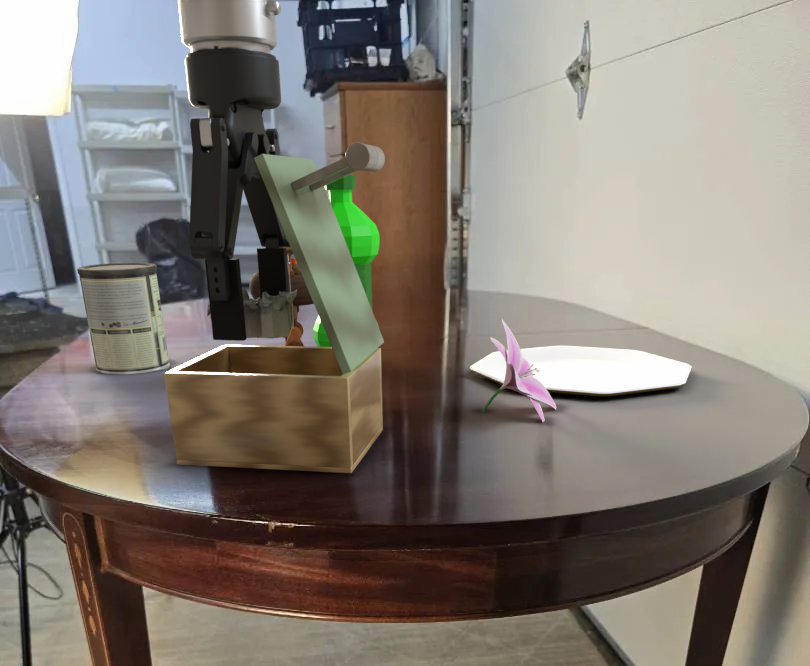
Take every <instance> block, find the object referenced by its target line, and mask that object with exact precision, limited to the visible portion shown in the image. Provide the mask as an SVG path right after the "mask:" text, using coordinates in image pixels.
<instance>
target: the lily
mask: <svg viewBox="0 0 810 666" xmlns="http://www.w3.org/2000/svg"><path fill="white" fill-rule="evenodd" d="M501 322H502V325H503V327H504V331H505V335H506V341H507V349H506V347H505V346H504V344H502V342H500V341H499V340H498V339H496V338H494V337H491V336H490V337H489V339H490V341H491V342H492V343H493V345H494V346H495V347H496V348H497V350H498V351H500V352H501V354H502V355H503V357H504V358H505V360H506V374H505V380H504V383H503V385H501V387H500V388H499V389H497V390H496V392H494V394H493V395H492V396H491V397H490V399H489V400H488V402H487V403H486V405H485V406H484V408H483V409H482V411H481V413H485V412H486V411H487V410H488V407H489V406H490V405H491V403H492V402H493V401H494V399H495V398H496V397H497V396H498V395H499V393H501V392H502V391H503V390H504V389H509V390H512V391H515V392H516V393H517V392H518V393H519V394H521V395H523V396H525V397H526V398H527V399H529V401H530V402H531V403H532V405H533V406H534V408H535V410H536V412H537V414H538V417H539V418H540V420H541V422H542V423H544V422H545V420H546V419H545V415H544V412H543V409H542V406H541V403H540V402H542V403H544V404H546V405H548V406H550V407H552V408H553V409H554V410H555V411H557V405H556V403H555V401H554V399H553V396H551V394H550V392H548V391H547V389H546V388H545V387H544V386H543V384H542V383H541V382H540V381H538V380H537V379H536V378H534V377H533V375H535V374H533V372H534V371H533V370H536V369H537V368H535V369H533V370H532V368H531V367H532V366H533V365H532V366H530V364H529V363H528V361H527V360H526V359H525V358H523V357H522V355H521V350H520V349H521V347H520V345H519V343H518V341H517V338H516V337H515V335H514V333H513V331H512V330H511V329H510V328H509V326H508V324H507V323H506V322H505V320H504V319H501ZM506 350H508V356H507V351H506ZM507 359H508V361H507ZM532 371H533V372H532ZM536 371H537V372H538V370H536ZM539 371H540V370H539Z"/></svg>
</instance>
